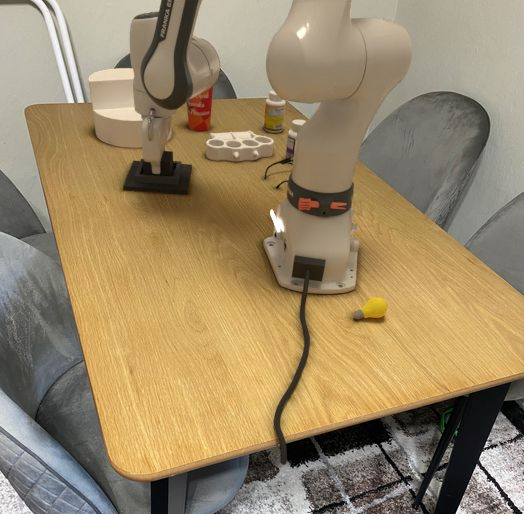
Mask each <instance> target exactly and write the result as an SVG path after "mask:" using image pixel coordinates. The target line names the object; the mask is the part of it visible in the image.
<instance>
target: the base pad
mask: <svg viewBox="0 0 524 514" xmlns="http://www.w3.org/2000/svg"><path fill="white" fill-rule="evenodd" d="M192 171H193V164H191V163H183V161H181V160H173V172H172V176H158V175H144V171H143V158H140V160H132V163H131V166H130V168H129V171H128V173H127V174H126V178H125V181H124V183H123V185H122V187H123V188H122V189H123V191H133V192H148V193H164V194H165V193H166V194H179V195H188V192H189V186H190V181H191V174H192Z"/></svg>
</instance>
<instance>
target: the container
mask: <svg viewBox="0 0 524 514" xmlns="http://www.w3.org/2000/svg"><path fill="white" fill-rule="evenodd" d="M133 79H134V72H133V68H132V67H118V68H108V69H102V70H97V71H95V72H93V73H91V74H90V75H89V77H88V86H89V94H90V101H91V110H92V116H93V123H94V131H95V136H96V138H98V140H100V141H101V142H103V143H105V144H108V145H111V146H115V147H120V148H121V147H122V148H131V149H132V148H134V149H137V148H139V149H140V148H142V124H143V121H144V120H142V118H141V114H139V113H137V112H136V111H135V108H134V96H133ZM172 127H173V126H172V124H171V128H170V132H169V135H168V138H167V141H166V142H168V141H169V140H170V139H171V138H172V136H173V129H172Z"/></svg>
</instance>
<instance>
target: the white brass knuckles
mask: <svg viewBox="0 0 524 514" xmlns="http://www.w3.org/2000/svg"><path fill="white" fill-rule="evenodd" d="M274 143H275V141H274V139H273V138H272V137H269V136H266V135H259V134H255V133H254V132H253V131H252V130H246V131H229V132H215V133H214V132H210V133H208V140H207V141H206V142H205V156H206V158H207V159H209V160H211V161H215V162H219V161H229V162H237V163H239V162H240V163H241V162H243V161H250V162H251V161H256V160H259V159H260V158H269V157H272V156H273V154H274Z"/></svg>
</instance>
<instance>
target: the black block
mask: <svg viewBox="0 0 524 514" xmlns="http://www.w3.org/2000/svg"><path fill="white" fill-rule="evenodd" d="M142 159H143V158H142ZM173 161H174V151H171V150H165V151H163V154H162V158H161V161H160V164H161V172H160V174H154V173H152V166H151V162H145V161H144V159H143V171H144V175H158V176H172V172H173Z"/></svg>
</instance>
